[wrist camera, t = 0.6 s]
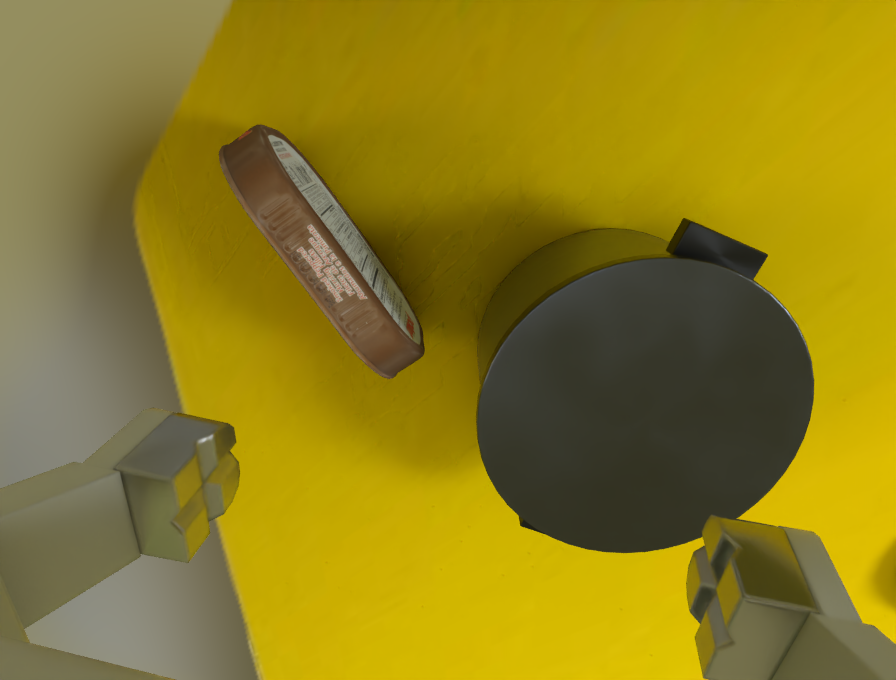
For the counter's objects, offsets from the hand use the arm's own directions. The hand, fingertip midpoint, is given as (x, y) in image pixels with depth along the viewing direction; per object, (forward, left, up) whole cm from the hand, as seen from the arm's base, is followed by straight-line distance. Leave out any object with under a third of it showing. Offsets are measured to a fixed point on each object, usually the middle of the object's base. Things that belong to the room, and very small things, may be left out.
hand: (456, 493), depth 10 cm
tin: (+4, -5, -27) cm, 28 cm away
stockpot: (+4, +12, -27) cm, 30 cm away
